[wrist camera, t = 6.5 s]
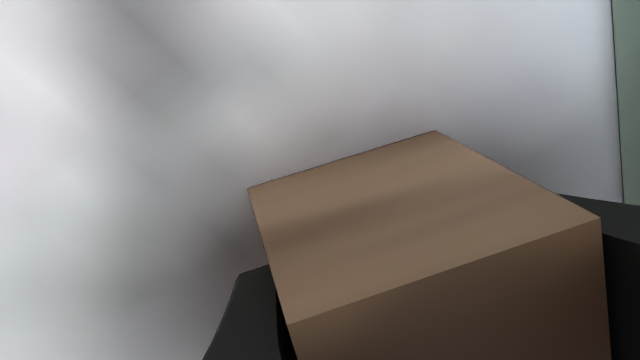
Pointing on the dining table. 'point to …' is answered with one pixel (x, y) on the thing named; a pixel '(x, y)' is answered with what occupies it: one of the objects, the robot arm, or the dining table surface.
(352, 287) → the walnut block
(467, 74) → the dining table surface
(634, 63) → the sage green tray
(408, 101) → the dining table surface
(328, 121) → the dining table surface
